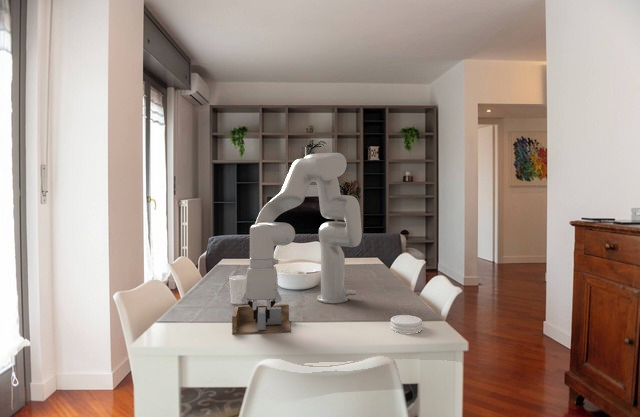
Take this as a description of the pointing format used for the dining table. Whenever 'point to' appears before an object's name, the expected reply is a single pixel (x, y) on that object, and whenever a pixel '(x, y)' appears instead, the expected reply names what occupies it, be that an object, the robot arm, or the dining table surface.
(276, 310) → the bracket
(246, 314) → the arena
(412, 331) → the coaster
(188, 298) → the dining table surface
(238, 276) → the white cup
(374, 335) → the dining table surface
